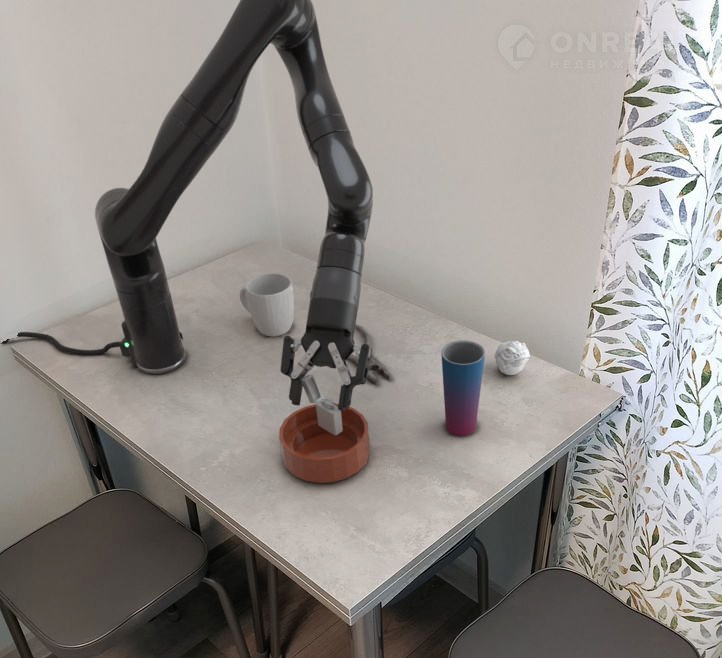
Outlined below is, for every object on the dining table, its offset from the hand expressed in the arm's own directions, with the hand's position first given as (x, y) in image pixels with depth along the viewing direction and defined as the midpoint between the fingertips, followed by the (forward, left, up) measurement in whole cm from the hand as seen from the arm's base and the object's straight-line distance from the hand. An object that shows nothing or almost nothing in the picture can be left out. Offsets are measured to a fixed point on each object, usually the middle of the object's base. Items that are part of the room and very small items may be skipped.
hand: (318, 407), depth 125 cm
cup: (+20, +13, -11) cm, 26 cm away
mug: (-24, +37, -11) cm, 46 cm away
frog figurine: (+26, +30, -11) cm, 41 cm away
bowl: (0, +1, -11) cm, 11 cm away
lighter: (0, +2, -5) cm, 5 cm away
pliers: (-2, +31, -11) cm, 33 cm away
